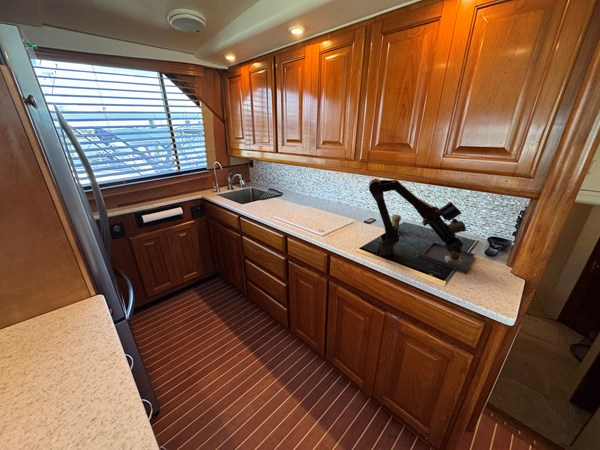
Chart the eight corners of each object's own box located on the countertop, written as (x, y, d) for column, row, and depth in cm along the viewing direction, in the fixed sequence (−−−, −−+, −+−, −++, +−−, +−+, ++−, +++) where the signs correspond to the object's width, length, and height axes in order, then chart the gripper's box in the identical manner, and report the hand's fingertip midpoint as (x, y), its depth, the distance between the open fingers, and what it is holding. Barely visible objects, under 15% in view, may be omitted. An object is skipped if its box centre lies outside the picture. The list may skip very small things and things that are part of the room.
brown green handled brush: (447, 263, 112) (452, 244, 108) (444, 259, 116) (449, 240, 112) (461, 265, 111) (467, 246, 107) (458, 260, 114) (464, 242, 110)
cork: (390, 229, 149) (393, 212, 145) (400, 231, 146) (403, 215, 141) (387, 232, 145) (389, 215, 140) (397, 235, 141) (400, 218, 137)
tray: (420, 258, 117) (421, 254, 117) (432, 244, 130) (433, 241, 129) (465, 273, 105) (467, 269, 105) (473, 257, 118) (475, 254, 117)
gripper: (464, 223, 96) (486, 251, 98) (449, 209, 113) (468, 232, 115) (438, 239, 101) (460, 264, 103) (428, 222, 118) (446, 244, 120)
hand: (459, 250), depth 110 cm, fingers open, 3 cm apart
